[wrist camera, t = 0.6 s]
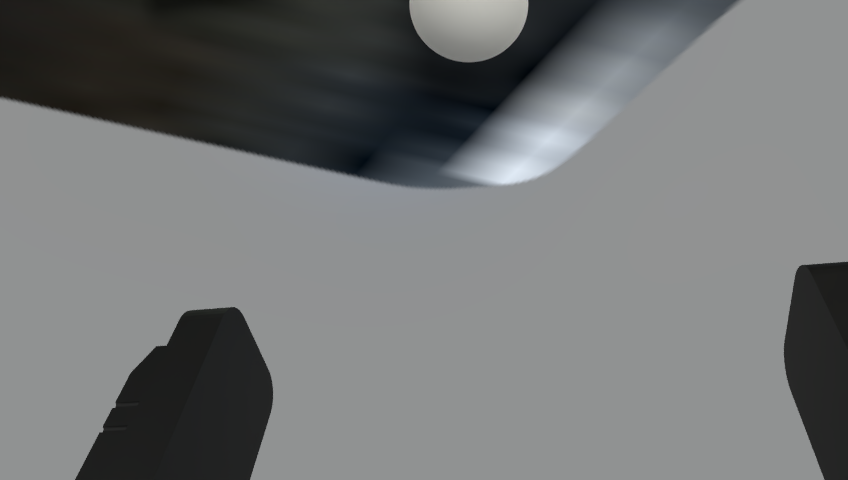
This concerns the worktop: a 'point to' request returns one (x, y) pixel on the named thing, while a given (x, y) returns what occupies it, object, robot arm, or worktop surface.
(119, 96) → the worktop surface
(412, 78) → the worktop surface
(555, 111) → the worktop surface
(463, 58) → the ceramic jar
